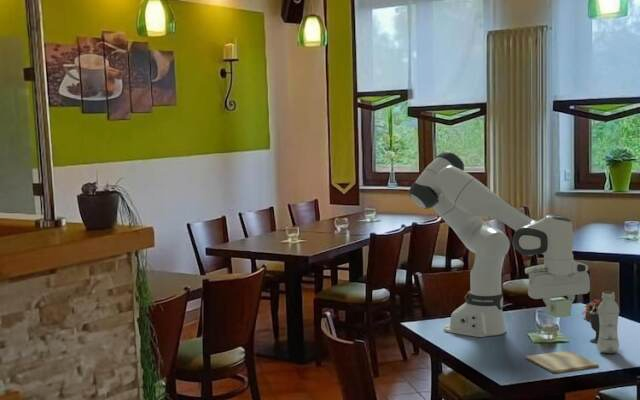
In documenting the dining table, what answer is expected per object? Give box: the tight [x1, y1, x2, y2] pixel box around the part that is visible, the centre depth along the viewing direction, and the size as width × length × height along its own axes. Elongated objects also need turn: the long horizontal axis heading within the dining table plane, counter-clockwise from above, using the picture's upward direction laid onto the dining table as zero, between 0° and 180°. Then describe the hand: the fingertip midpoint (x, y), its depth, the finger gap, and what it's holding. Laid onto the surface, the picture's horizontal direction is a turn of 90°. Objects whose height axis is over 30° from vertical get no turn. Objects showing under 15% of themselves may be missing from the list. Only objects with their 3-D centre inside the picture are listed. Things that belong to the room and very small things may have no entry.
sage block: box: [547, 296, 572, 319], centre depth 244 cm, size 5×5×5 cm
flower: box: [581, 298, 603, 320], centre depth 296 cm, size 10×9×8 cm
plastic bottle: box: [596, 291, 620, 354], centre depth 253 cm, size 6×7×20 cm
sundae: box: [588, 298, 603, 344], centre depth 266 cm, size 7×7×15 cm
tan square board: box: [525, 349, 600, 374], centre depth 246 cm, size 16×16×1 cm
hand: (559, 309), depth 244 cm, fingers closed on sage block, 5 cm apart
